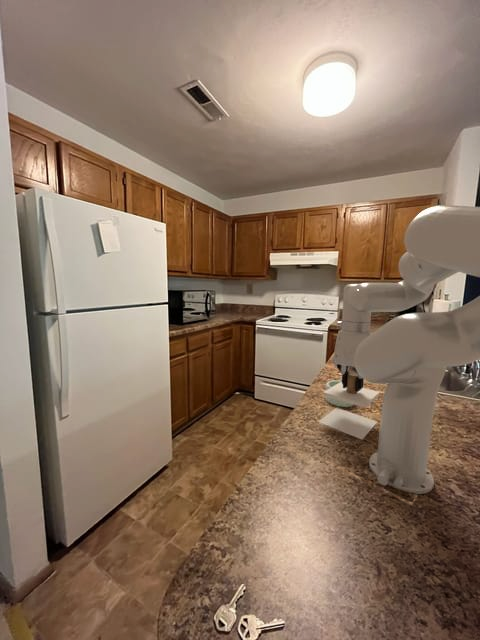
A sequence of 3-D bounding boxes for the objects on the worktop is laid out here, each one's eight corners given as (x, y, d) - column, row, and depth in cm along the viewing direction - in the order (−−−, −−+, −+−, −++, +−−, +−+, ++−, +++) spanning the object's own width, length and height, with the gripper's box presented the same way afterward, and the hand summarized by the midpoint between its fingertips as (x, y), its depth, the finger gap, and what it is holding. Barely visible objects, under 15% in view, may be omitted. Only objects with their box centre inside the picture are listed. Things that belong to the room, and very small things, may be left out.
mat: (362, 441, 73) (362, 439, 73) (317, 423, 82) (318, 421, 81) (377, 423, 82) (377, 421, 82) (336, 409, 91) (336, 407, 91)
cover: (365, 407, 71) (367, 386, 70) (323, 395, 79) (324, 375, 79) (379, 395, 80) (381, 375, 79) (340, 384, 88) (341, 367, 87)
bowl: (348, 411, 90) (349, 394, 89) (320, 401, 96) (321, 385, 95) (359, 401, 97) (360, 385, 96) (332, 393, 104) (333, 378, 103)
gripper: (323, 325, 80) (320, 384, 82) (382, 332, 69) (377, 400, 71) (334, 323, 85) (331, 379, 88) (390, 328, 74) (386, 392, 76)
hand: (352, 388), depth 79 cm, fingers closed on cover, 3 cm apart
